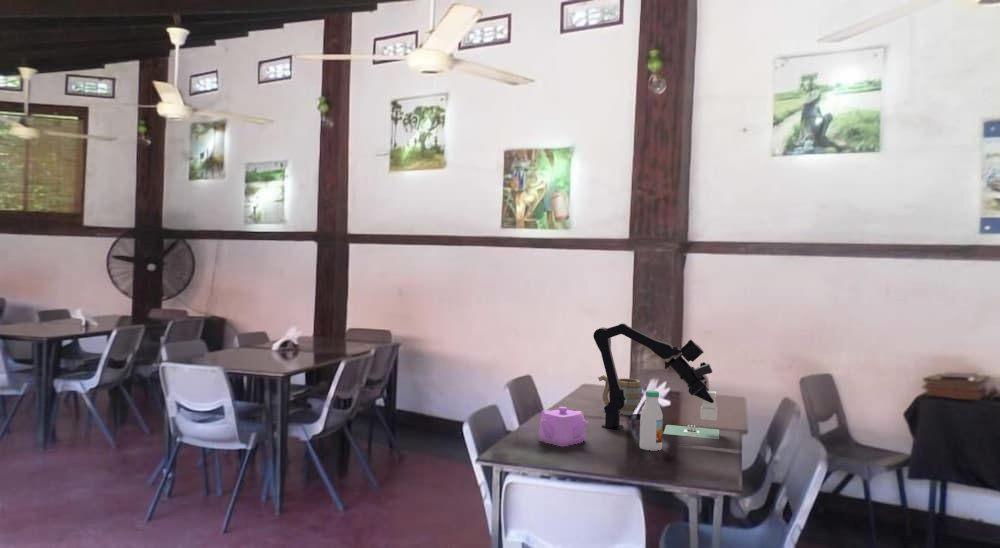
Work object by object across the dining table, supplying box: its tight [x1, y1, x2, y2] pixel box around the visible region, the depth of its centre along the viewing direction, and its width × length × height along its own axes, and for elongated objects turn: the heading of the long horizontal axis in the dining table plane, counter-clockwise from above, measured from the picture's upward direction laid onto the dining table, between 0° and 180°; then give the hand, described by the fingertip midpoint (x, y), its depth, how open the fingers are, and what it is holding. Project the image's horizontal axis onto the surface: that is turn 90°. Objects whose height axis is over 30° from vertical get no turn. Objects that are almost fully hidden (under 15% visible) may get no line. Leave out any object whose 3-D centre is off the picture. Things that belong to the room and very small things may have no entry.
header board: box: [662, 424, 720, 440], centre depth 263 cm, size 20×16×4 cm
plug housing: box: [699, 390, 718, 421], centre depth 261 cm, size 6×5×10 cm
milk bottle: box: [639, 390, 664, 452], centre depth 241 cm, size 8×8×20 cm
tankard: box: [598, 375, 643, 416], centre depth 304 cm, size 20×13×15 cm, turn 58°
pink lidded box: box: [538, 406, 589, 446], centre depth 248 cm, size 17×17×12 cm
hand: (713, 401), depth 261 cm, fingers closed on plug housing, 5 cm apart
